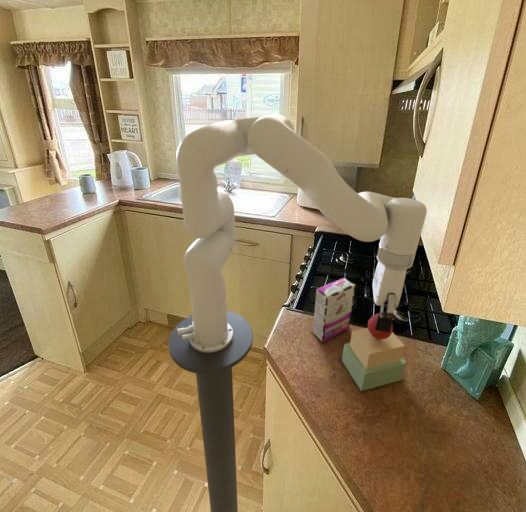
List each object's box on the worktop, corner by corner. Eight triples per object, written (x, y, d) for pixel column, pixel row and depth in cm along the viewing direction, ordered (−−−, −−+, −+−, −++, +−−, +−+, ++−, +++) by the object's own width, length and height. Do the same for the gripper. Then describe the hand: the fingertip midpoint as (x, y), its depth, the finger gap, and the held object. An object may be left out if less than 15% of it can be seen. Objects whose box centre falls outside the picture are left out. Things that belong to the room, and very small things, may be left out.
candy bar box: (338, 319, 101) (344, 276, 94) (349, 329, 97) (356, 284, 90) (311, 332, 95) (315, 288, 88) (322, 343, 91) (327, 297, 84)
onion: (361, 338, 78) (366, 313, 75) (371, 326, 82) (376, 302, 79) (384, 350, 75) (390, 324, 71) (393, 337, 79) (399, 312, 75)
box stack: (361, 391, 77) (368, 358, 72) (341, 360, 86) (346, 329, 81) (402, 379, 80) (411, 347, 76) (379, 351, 89) (386, 320, 84)
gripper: (375, 235, 77) (363, 293, 84) (381, 272, 61) (365, 338, 69) (407, 240, 75) (392, 297, 83) (421, 278, 60) (401, 345, 67)
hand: (380, 316), depth 76 cm, fingers open, 9 cm apart
